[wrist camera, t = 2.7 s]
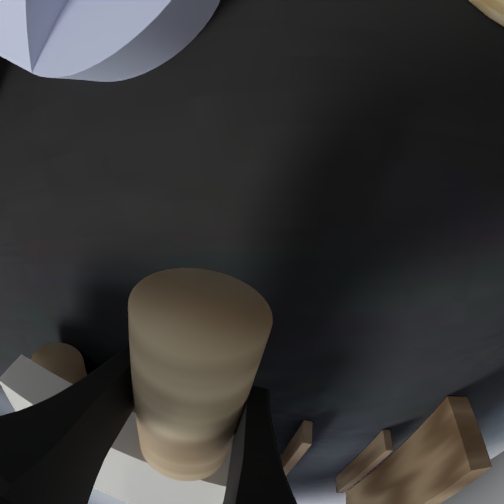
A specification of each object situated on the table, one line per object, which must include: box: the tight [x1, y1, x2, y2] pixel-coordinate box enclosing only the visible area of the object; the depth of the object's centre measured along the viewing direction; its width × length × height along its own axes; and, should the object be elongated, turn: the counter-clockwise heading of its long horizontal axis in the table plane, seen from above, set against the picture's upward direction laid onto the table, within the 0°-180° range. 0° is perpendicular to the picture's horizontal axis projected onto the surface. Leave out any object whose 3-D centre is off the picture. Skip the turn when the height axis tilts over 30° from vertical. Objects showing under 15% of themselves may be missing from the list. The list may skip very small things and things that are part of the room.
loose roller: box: [128, 268, 273, 481], centre depth 10 cm, size 8×4×4 cm, turn 168°
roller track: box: [31, 343, 393, 493], centre depth 17 cm, size 8×25×4 cm, turn 78°
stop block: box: [346, 396, 492, 504], centre depth 16 cm, size 16×2×6 cm, turn 168°
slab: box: [0, 354, 232, 504], centre depth 14 cm, size 12×14×2 cm
